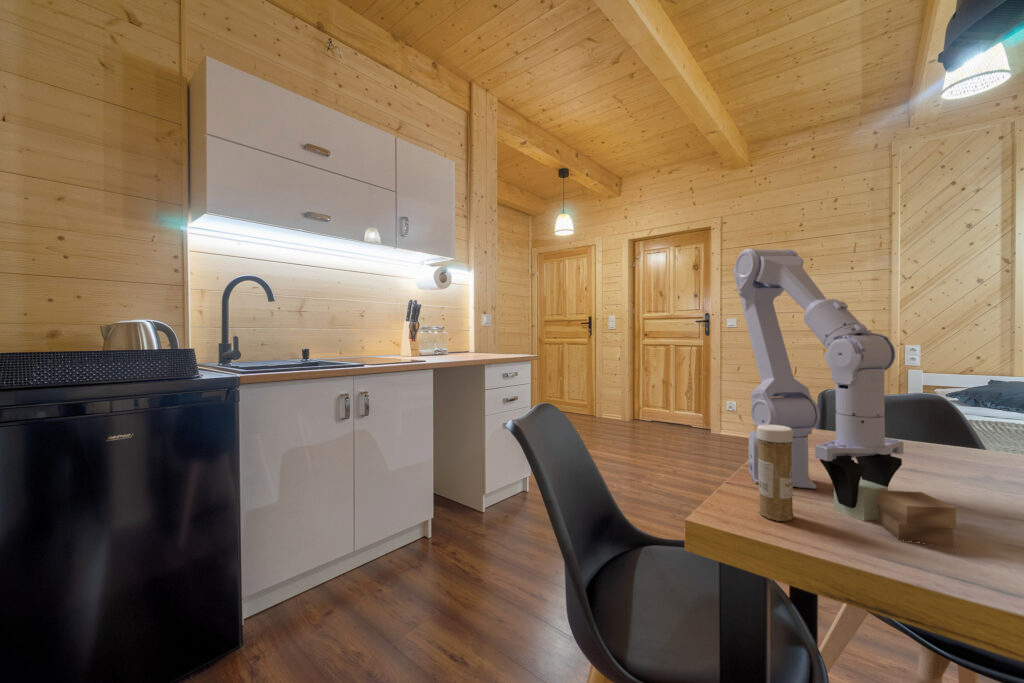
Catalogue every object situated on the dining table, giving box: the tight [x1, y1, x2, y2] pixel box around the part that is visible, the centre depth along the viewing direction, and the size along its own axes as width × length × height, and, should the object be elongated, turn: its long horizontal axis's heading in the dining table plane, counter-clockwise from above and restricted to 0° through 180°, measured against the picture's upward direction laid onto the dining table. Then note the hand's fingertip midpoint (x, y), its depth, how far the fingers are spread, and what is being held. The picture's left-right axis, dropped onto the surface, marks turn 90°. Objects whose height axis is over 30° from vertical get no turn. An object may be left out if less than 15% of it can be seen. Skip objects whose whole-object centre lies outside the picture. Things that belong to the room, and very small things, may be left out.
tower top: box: [877, 490, 957, 529], centre depth 57 cm, size 6×6×3 cm
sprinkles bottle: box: [756, 425, 795, 522], centre depth 63 cm, size 5×5×13 cm
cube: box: [833, 478, 889, 522], centre depth 64 cm, size 4×4×4 cm
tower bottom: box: [878, 510, 954, 548], centre depth 57 cm, size 6×6×3 cm
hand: (860, 503), depth 64 cm, fingers closed on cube, 4 cm apart
